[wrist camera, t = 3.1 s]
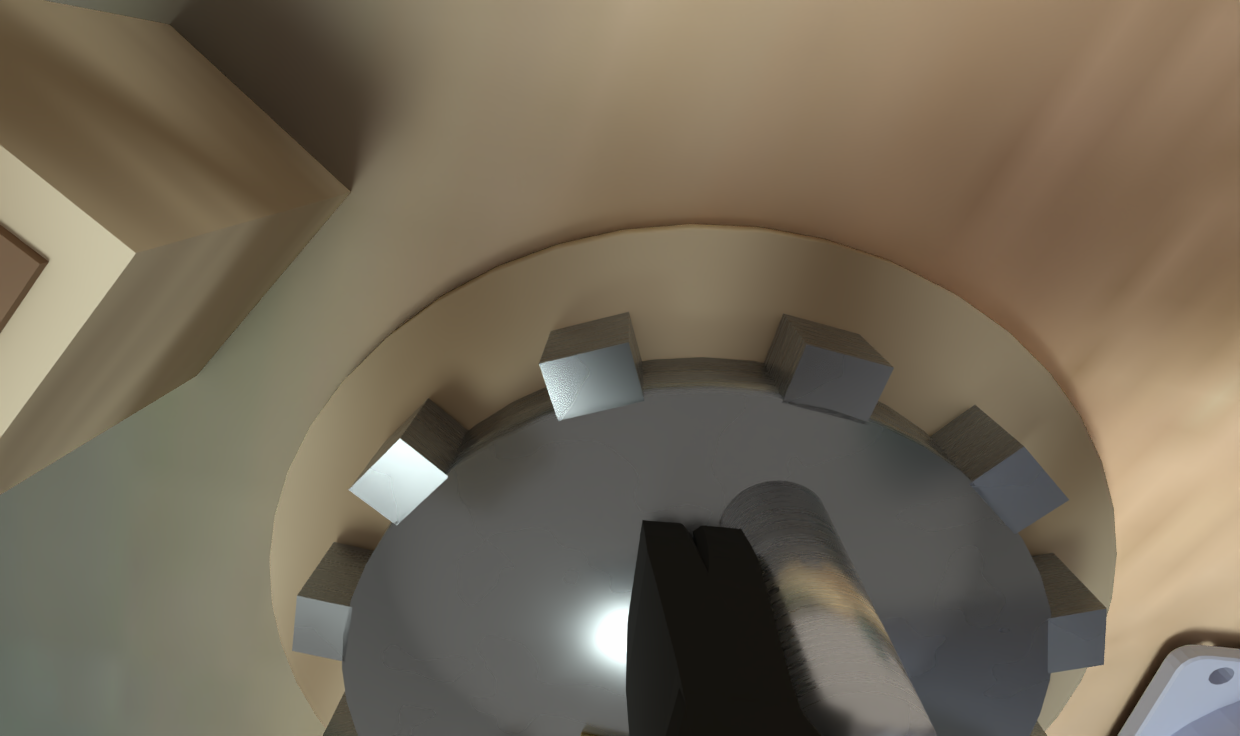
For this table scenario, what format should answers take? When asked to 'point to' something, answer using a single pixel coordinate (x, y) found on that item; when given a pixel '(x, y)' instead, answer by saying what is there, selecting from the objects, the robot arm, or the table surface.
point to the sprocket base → (683, 328)
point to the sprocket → (694, 496)
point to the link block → (128, 220)
